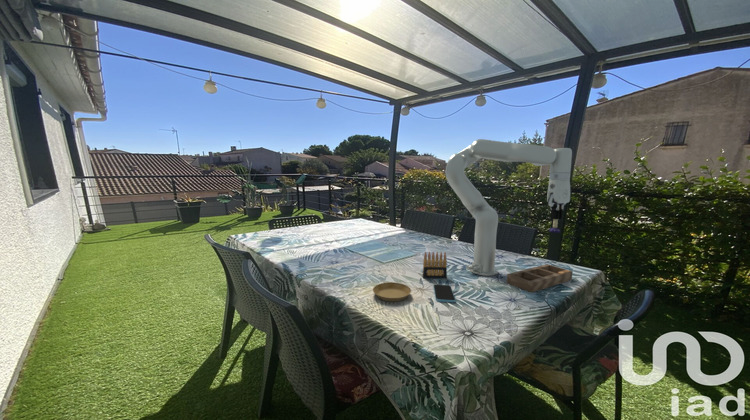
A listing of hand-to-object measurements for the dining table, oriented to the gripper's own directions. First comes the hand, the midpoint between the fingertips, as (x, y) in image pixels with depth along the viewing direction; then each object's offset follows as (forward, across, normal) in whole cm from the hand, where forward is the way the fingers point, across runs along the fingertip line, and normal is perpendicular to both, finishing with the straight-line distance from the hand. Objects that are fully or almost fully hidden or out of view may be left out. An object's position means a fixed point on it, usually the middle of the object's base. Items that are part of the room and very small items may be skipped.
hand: (556, 218), depth 120 cm
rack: (+27, -10, 0) cm, 29 cm away
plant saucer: (+27, -74, +18) cm, 81 cm away
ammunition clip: (+27, -47, +25) cm, 60 cm away
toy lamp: (+6, 0, 0) cm, 6 cm away
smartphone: (+27, -56, +10) cm, 63 cm away
